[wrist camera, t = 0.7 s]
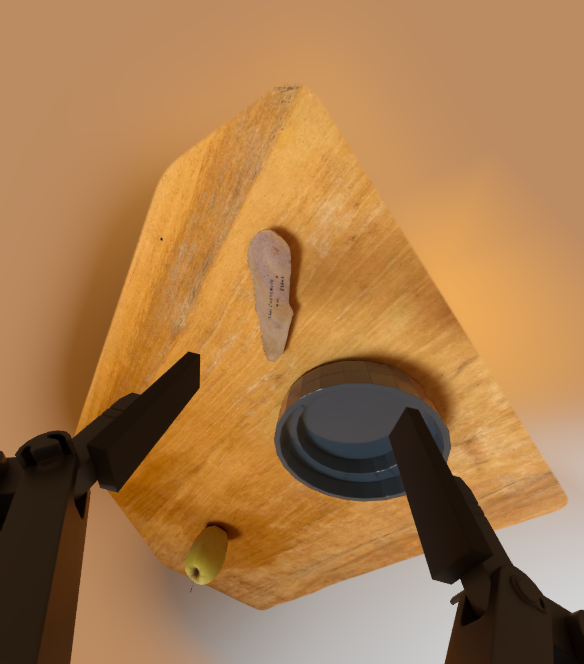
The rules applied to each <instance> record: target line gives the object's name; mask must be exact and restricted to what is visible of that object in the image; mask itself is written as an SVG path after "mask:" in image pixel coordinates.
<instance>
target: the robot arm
mask: <svg viewBox="0 0 584 664" xmlns="http://www.w3.org/2000/svg"><path fill="white" fill-rule="evenodd" d="M199 388H200V354H196V353H192V352H187V353H186V354H185V355H184V356H183V357H182V358H181V359H180V360H179V361H178V362H177V363H175V364H174V365H173V366H172V367H171V368H170V369H169V370H168V371H167V372H166V373H164V374H163V375H162V376H161V377H160V378H159V379H158V380H157V381H156V382H155V383H153V384H152V385H151V386H150V387H149V388H148V389H147V390H146V391H145V392H144V393H142V394H141V395H139V394H135V393H130V394H128V395H126V396H124V397H122V398H120V399H119V400H118V401H117V402H115V403H114V404H113V405H112V406H111V407H110V408H109V409H107V410H106V411H105V412H103V413H102V415H101V416H99V417H97V418H96V419H95V420H94V421H93V422H91V423H90V424H89V425H88V426H87V427H85V428H84V429H83V430H82V431H81V432H79V433H78V434H77V435H76V436H75V437H73V438H72V439H71V436H70V435H69V434H68V433H67V432H65V431H51V432H47V433H44V434H41V435H38V436H36V437H34V438H33V439H31V440H29V441H28V442H26V443H25V444H24V445H23V446H21V447H20V448H19V450H18V451H17V452H16V454H15V456H16V457H12V458H6V457H5V455H4V453H3V452H2V451H0V664H70V661H71V652H72V643H73V635H74V626H75V619H76V611H77V602H78V593H79V585H80V577H81V569H82V560H83V552H84V543H85V534H86V527H87V518H88V509H89V502H90V488H91V486H93V484H94V483H95V482H96V481H97V480H98V482H99V485H100V488H103V489H107V490H110V491H114V492H117V493H118V492H119V490H120V489H121V488H122V487H123V485H124V484H125V483H126V481H127V480H128V479H129V478H130V476H131V475H132V474H133V472H134V471H135V470H136V469H137V467H138V466H139V465H140V464H141V462H142V461H143V460H144V458H145V457H146V456H147V455H148V453H149V452H150V451H151V449H152V448H153V447H154V446H155V444H156V443H157V442H158V440H159V439H160V438H161V437H162V435H163V434H164V433H165V432H166V430H167V429H168V428H169V426H170V425H171V424H172V423H173V421H174V420H175V419H176V417H177V416H178V415H179V414H180V412H181V411H182V410H183V408H184V407H185V406H186V405H187V403H188V402H189V401H190V399H191V398H192V397H193V396H194V394H195V393H196V392H197V391H198V389H199ZM388 437H389V440H390V443H391V446H392V450H393V453H394V456H395V460H396V463H397V466H398V469H399V473H400V476H401V479H402V482H403V486H404V489H405V492H406V495H407V499H408V502H409V505H410V508H411V512H412V515H413V518H414V522H415V525H416V528H417V531H418V535H419V538H420V541H421V544H422V548H423V551H424V554H425V557H426V561H427V564H428V567H429V570H430V574H431V577H432V579H433V580H437V581H440V582H444V583H447V584H453V583H454V582H456V581H457V580H459V579H460V580H461V582H462V585H463V588H464V590H463V591H462V592H460V593H458V594H457V595H456V596H454V597H453V598H452V599H451V601H450V602H451V604H452V605H454V604H455V603H457V602H459V603H458V607H457V612H456V616H455V620H454V626H453V629H452V634H451V638H450V642H449V647H448V651H447V656H446V660H445V664H584V610H579V611H576V612H574V613H571V612H569V611H568V610H566V609H564V608H563V607H561V606H560V605H558V604H556V603H555V602H553V601H552V600H550V599H548V598H547V597H545V596H544V595H543V594H542V593H541V591H540V590H539V589H538V587H537V586H536V585H535V584H534V582H533V581H532V580H531V579H530V578H529V577H528V576H527V575H526V574H525V573H523V572H522V571H521V570H519V569H518V568H517V567H515V566H513V564H512V563H511V561H510V559H509V557H508V556H507V554H506V552H505V550H504V549H503V547H502V545H501V543H500V541H499V539H498V538H497V536H496V534H495V532H494V531H493V529H492V527H491V525H490V523H489V522H488V520H487V518H486V517H485V516H484V513H483V511H482V509H481V507H480V506H479V505H478V502H477V500H476V498H475V497H474V495H473V493H472V491H471V490H470V488H469V487H468V486H467V485H466V484H465V482H464V481H463V480H462V479H461V478H460V477H456V476H453V475H452V473H451V471H450V469H449V467H448V465H447V463H446V461H445V459H444V457H443V456H442V454H441V452H440V450H439V448H438V446H437V444H436V442H435V440H434V438H433V436H432V434H431V432H430V430H429V429H428V427H427V425H426V423H425V421H424V419H423V417H422V415H421V413H420V411H419V410H418V409H414V408H410V407H406V408H405V410H404V411H403V413H402V415H401V416H400V418H399V420H398V421H397V423H396V425H395V426H394V428H393V430H392V431H391V433H390V435H389V436H388Z"/></svg>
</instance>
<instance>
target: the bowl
mask: <svg viewBox="0 0 584 664" xmlns="http://www.w3.org/2000/svg"><path fill="white" fill-rule="evenodd" d="M406 407H410V408H414V409H418V410H419V411H420V413H421V415H422V417H423V419H424V421H425V423H426V425H427V427H428V429H429V430H430V432H431V434H432V436H433V438H434V440H435V442H436V444H437V446H438V448H439V450H440V452H441V454H442V456H443V457H444V459H445V461H446V463H447V460H448V457H449V453H450V449H451V443H450V436H449V430H448V428H447V427H446V425H445V423H444V422H443V420H442V418H441V417H440V415H439V413H438V412H437V410H436V408H435V407H434V405H433V404H432V402H431V400H430V399H429V397H428V396H427V394H426V392H425V391H424V389H423V388H422V387H421V386H420V385H419V384H418V383H417V382H416V381H414V380H413V379H412V378H411V377H410V376H409V375H407V374H405V373H403V372H401V371H399V370H397V369H394V368H392V367H390V366H388V365H384V364H379V363H375V362H370V361H340V362H336V363H332V364H328V365H323V366H320V367H318V368H316V369H314V370H312V371H310V372H309V373H307V374H305V375H303V376H302V377H301V378H300V379H299V380H298V381H296V382H295V383H294V384H293V385H292V386H291V387H290V389H289V390H288V392H287V394H286V396H285V397H284V399H283V401H282V405H281V410H280V414H279V418H278V422H277V426H276V432H275V437H274V441H275V447H276V452H277V455H278V457H279V459H280V461H281V462H282V464H283V466H284V467H285V469H286V470H287V471H288V472H289V473H290V474H291V475H292V476H293V477H294V478H295V479H297V480H298V481H300V482H301V483H303V484H304V485H306V486H307V487H309V488H311V489H313V490H315V491H318V492H320V493H323V494H325V495H328V496H332V497H336V498H340V499H344V500H353V501H380V500H388V499H393V498H397V497H401V496H405V495H406V492H405V489H404V486H403V482H402V479H401V476H400V473H399V469H398V466H397V463H396V460H395V456H394V453H393V450H392V446H391V443H390V440H389V437H388V436H389V435H390V433H391V431H392V430H393V428H394V426H395V425H396V423H397V421H398V420H399V418H400V416H401V415H402V413H403V411H404V410H405V408H406Z"/></svg>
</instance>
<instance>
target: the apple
mask: <svg viewBox="0 0 584 664" xmlns="http://www.w3.org/2000/svg"><path fill="white" fill-rule="evenodd" d="M227 544H228V537H227V533H226V531H225V530H222V529H221V528H219V527H218V526H215V525H213V526H210V527H206V528H205V529H204V530H202V532H201V533H200V534H199V535H198V536H197V538H196V539H195V541H194V542H193V544H192V546H191V548H190V550H189V552H188V554H187V556H186V559H185V571H186V573H187V575H188V576H189V577H190V578H191V579H192V580H193V581H194V582H195V583H197V584H201V585H203V584H207V583H209V582H211V581H212V580H213V579H214V578H215V577H216V576H217V574H218V573H219V571H220V570H221V568H222V566H223V563H224V560H225V557H226V552H227ZM191 590H192V588H191ZM190 592H191V591H190Z"/></svg>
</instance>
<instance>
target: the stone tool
mask: <svg viewBox="0 0 584 664" xmlns="http://www.w3.org/2000/svg"><path fill="white" fill-rule="evenodd" d="M248 264H249V267H250V270H251V274H252V276H253V282H254V288H255V301H256V304H255V309H256V312H257V315H258V318H259V322H260V327H261V333H262V336H261V337H262V342H263V349H264V352H265V355H266V357H267V359H268V360H269V361H273V362H274V361H276V360H277V359H278V358H279V357H280V356H281V355H282V354H283V352H284V348H285V343H286V340H287V337H288V330H289V327H290V324H291V321H292V316H293V315H294V312H293V310H292V308H291V306H290V305H289V289H290V275H291V254H290V248H289V246H288V244H287V242H286V241H285V240H284V239H283V238H282V237H281V236H280V235H279V233H278V232H275V231H273V230H263V231H260V232H259V233H258V234H257V235H256V236H255V237H254V238H253V239H252V241H251V242H250V244H249V248H248Z"/></svg>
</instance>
